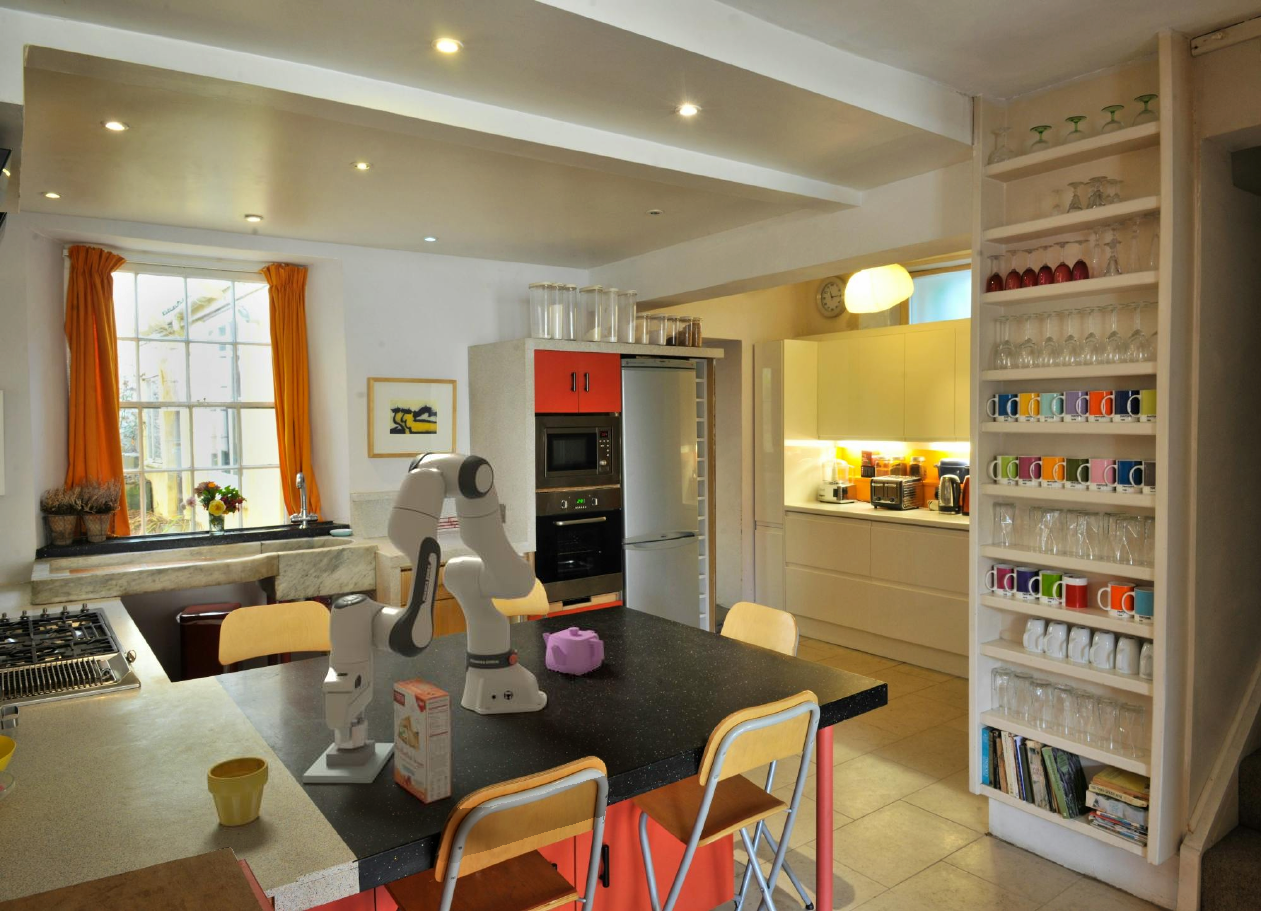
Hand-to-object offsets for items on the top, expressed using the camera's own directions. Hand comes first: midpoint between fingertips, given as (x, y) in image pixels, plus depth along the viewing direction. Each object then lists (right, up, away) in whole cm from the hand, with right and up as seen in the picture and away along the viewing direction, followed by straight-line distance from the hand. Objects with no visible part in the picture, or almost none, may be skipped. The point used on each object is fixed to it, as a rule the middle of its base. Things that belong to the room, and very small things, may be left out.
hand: (351, 735), depth 184 cm
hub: (0, -2, 0) cm, 2 cm away
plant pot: (-13, -8, -25) cm, 29 cm away
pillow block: (0, -7, 0) cm, 7 cm away
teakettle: (+42, -5, +75) cm, 87 cm away
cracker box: (+18, -7, -12) cm, 23 cm away
